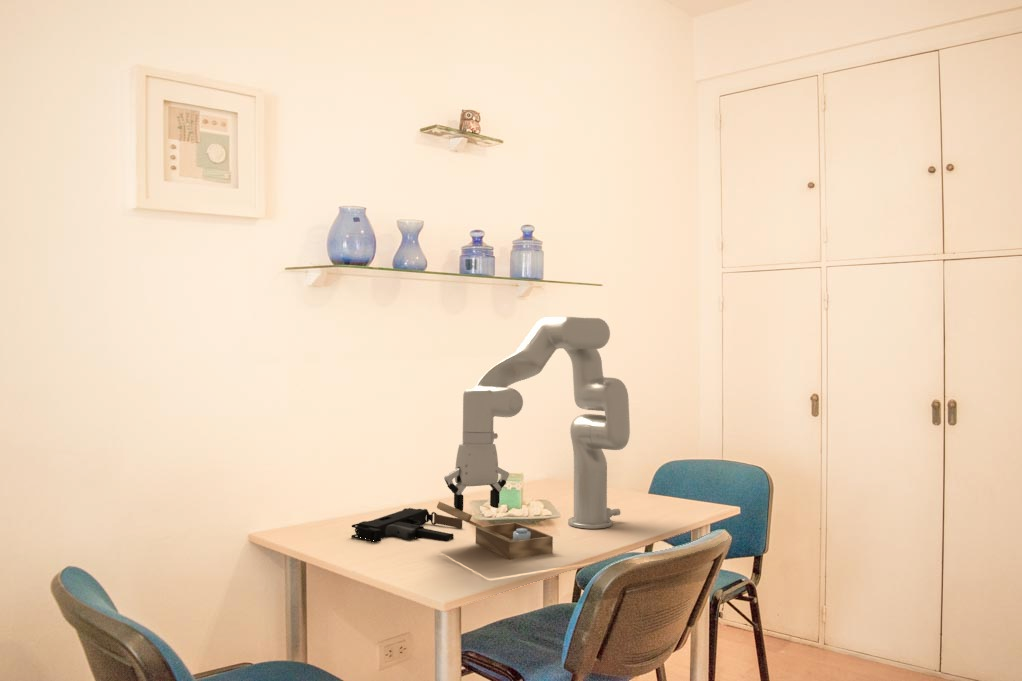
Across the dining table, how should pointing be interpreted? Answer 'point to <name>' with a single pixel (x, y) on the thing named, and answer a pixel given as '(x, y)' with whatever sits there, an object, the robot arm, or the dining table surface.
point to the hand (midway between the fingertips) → (476, 508)
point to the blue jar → (521, 534)
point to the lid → (464, 517)
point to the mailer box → (514, 549)
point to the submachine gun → (405, 526)
